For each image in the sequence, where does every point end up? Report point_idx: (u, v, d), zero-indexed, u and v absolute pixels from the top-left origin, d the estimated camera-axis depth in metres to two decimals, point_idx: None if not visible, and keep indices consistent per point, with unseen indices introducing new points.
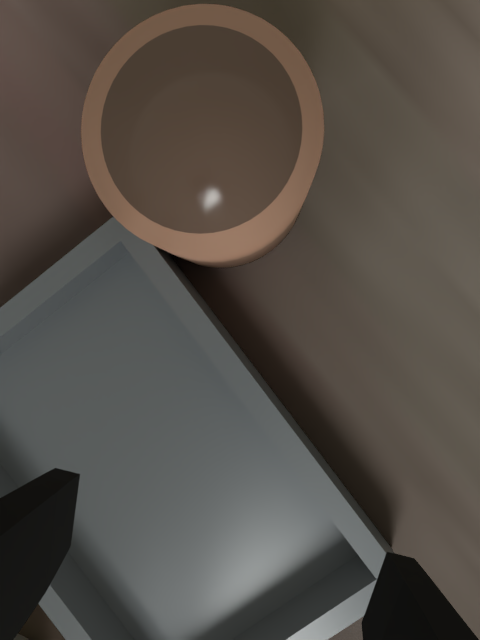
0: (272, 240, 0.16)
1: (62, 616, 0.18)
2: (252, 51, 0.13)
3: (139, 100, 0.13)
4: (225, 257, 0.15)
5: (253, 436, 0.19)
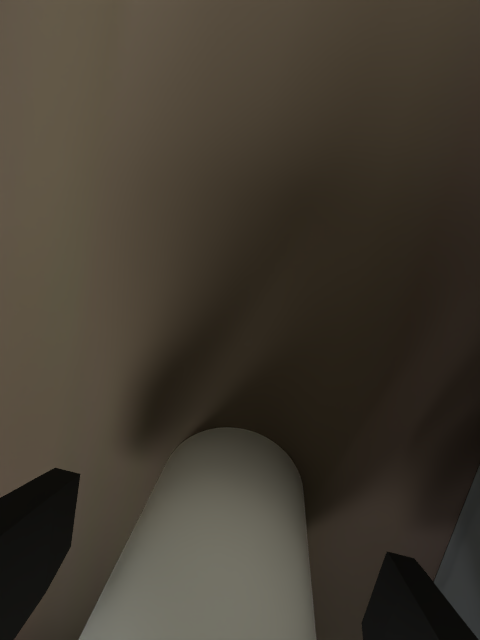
0: None
1: None
2: None
3: None
4: None
5: None
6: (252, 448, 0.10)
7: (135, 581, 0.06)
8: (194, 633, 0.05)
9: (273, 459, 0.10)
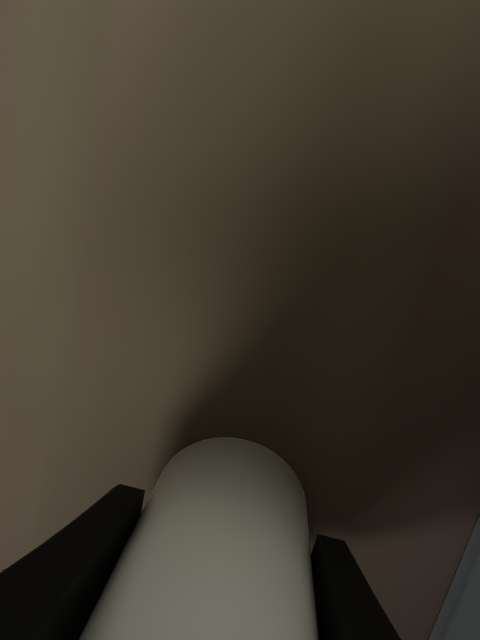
0: None
1: None
2: None
3: None
4: None
5: None
6: (252, 460, 0.09)
7: (120, 617, 0.06)
8: None
9: (274, 472, 0.09)
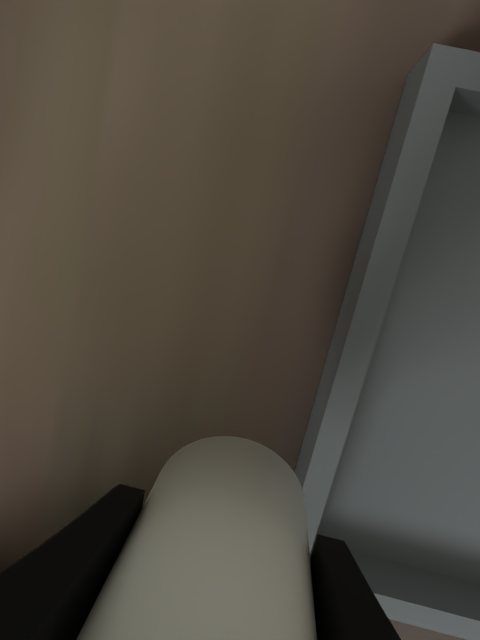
0: None
1: (336, 427, 0.15)
2: None
3: None
4: None
5: None
6: (251, 459, 0.09)
7: (118, 616, 0.06)
8: None
9: (273, 471, 0.09)
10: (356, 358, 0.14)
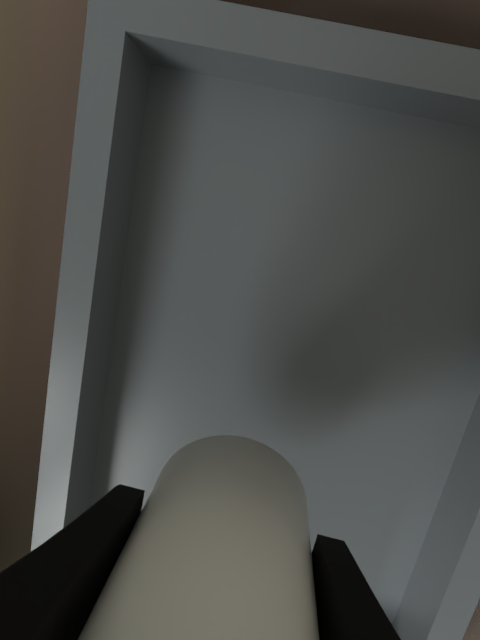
0: None
1: (59, 446, 0.12)
2: None
3: None
4: None
5: (418, 470, 0.14)
6: (253, 457, 0.09)
7: (119, 616, 0.06)
8: None
9: (275, 470, 0.09)
10: (67, 365, 0.12)
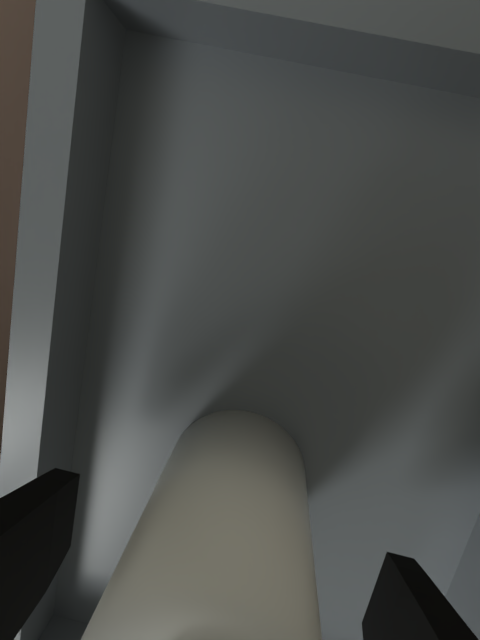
0: None
1: (19, 486, 0.11)
2: None
3: None
4: None
5: (442, 510, 0.12)
6: (258, 427, 0.11)
7: (155, 537, 0.07)
8: (210, 575, 0.06)
9: (277, 438, 0.11)
10: (26, 391, 0.10)
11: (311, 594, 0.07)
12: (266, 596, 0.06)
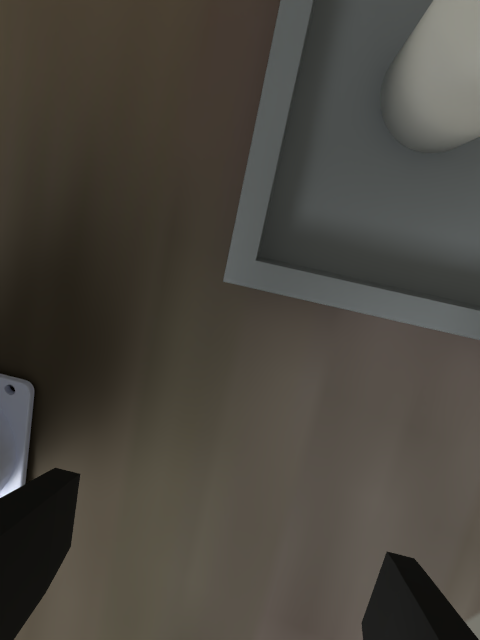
0: None
1: (285, 60, 0.13)
2: None
3: None
4: None
5: None
6: None
7: None
8: None
9: None
10: None
11: None
12: None
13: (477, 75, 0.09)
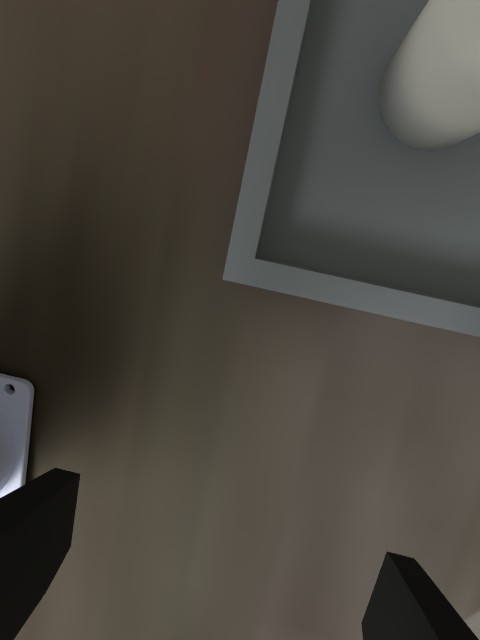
0: None
1: (284, 58, 0.13)
2: None
3: None
4: None
5: None
6: None
7: None
8: None
9: None
10: None
11: None
12: None
13: (476, 70, 0.09)
